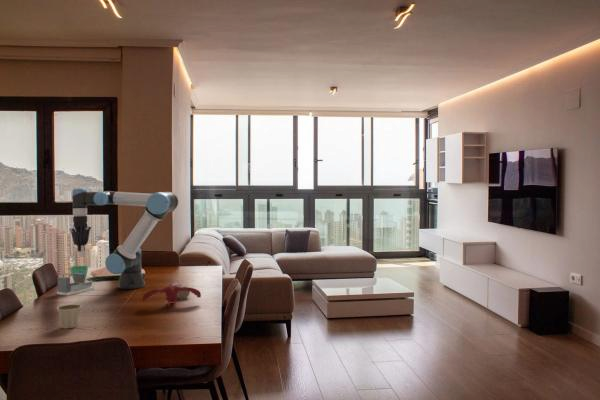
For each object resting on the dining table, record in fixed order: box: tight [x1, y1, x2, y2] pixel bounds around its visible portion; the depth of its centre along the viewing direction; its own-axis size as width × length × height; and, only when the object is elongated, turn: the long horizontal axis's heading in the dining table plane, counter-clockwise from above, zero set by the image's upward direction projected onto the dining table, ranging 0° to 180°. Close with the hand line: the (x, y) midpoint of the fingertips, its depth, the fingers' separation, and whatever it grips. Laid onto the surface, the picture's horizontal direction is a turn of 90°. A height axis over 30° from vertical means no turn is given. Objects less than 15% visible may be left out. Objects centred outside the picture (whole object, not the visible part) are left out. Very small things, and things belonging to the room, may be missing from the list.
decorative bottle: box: [167, 281, 191, 300], centre depth 279 cm, size 26×8×7 cm, turn 30°
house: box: [90, 266, 146, 282], centre depth 330 cm, size 23×33×8 cm
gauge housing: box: [56, 276, 95, 297], centre depth 286 cm, size 18×8×10 cm, turn 153°
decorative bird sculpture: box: [142, 285, 202, 307], centre depth 254 cm, size 28×9×15 cm
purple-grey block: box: [70, 273, 86, 286], centre depth 287 cm, size 5×8×8 cm, turn 63°
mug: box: [69, 265, 89, 281], centre depth 310 cm, size 15×10×10 cm
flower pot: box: [56, 304, 82, 329], centre depth 219 cm, size 9×9×9 cm
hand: (81, 256), depth 289 cm, fingers closed
